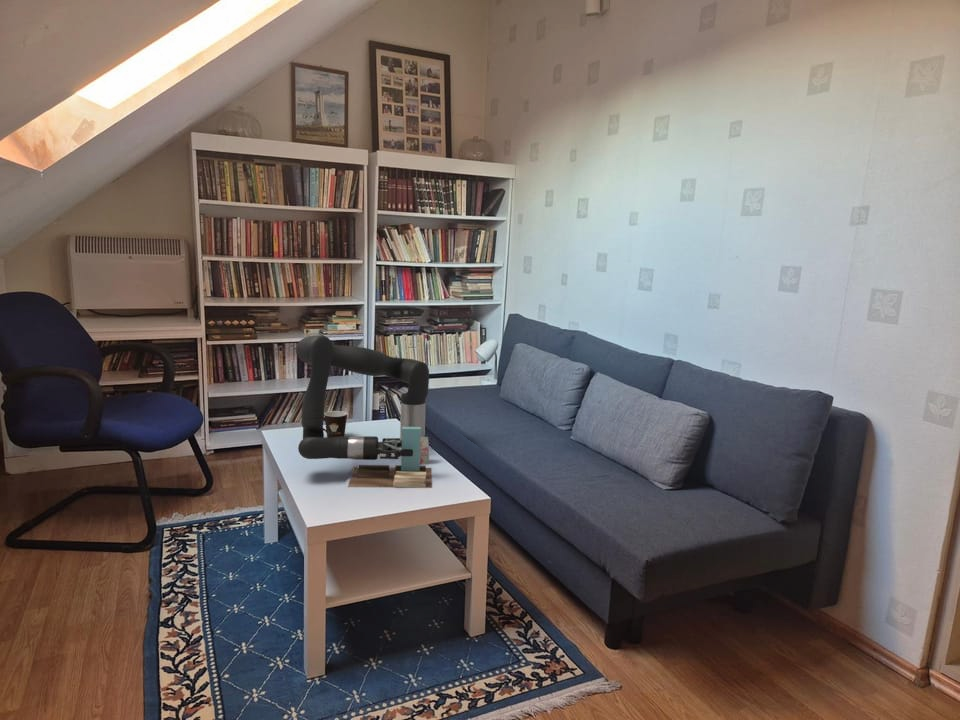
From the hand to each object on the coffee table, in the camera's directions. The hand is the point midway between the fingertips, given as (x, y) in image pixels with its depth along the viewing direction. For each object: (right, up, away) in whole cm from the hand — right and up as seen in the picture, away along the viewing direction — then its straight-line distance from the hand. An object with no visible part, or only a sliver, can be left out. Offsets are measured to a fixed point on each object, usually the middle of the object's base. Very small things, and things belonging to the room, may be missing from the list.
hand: (413, 448), depth 206 cm
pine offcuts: (0, -10, -6) cm, 12 cm away
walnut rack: (-7, -10, -1) cm, 12 cm away
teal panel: (-1, -9, +2) cm, 9 cm away
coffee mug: (-36, -2, +40) cm, 54 cm away
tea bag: (0, -8, +14) cm, 16 cm away
